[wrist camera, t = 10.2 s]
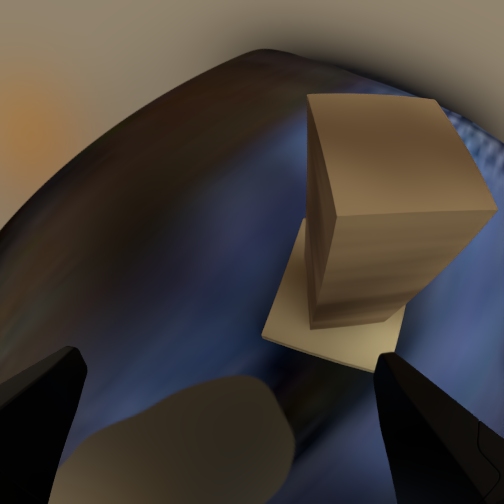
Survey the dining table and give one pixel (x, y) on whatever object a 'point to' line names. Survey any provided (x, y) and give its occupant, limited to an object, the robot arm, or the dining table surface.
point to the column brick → (383, 204)
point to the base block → (324, 340)
